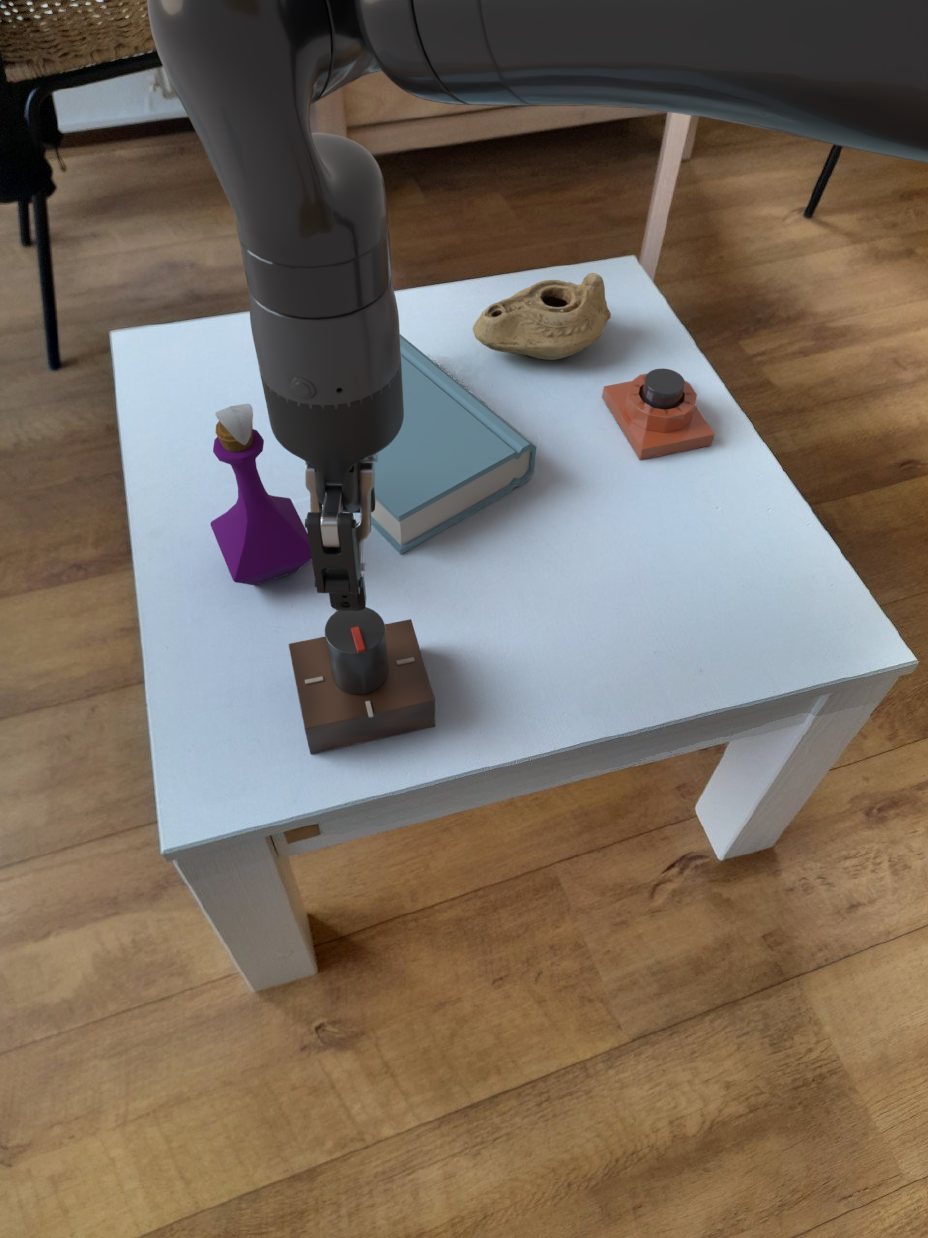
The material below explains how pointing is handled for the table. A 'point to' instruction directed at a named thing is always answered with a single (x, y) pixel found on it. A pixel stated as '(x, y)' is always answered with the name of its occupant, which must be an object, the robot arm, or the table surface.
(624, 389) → the button base
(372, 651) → the dial
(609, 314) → the oil lamp
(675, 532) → the table surface
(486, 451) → the book
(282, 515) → the perfume bottle
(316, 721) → the dial panel
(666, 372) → the dark grey knob
